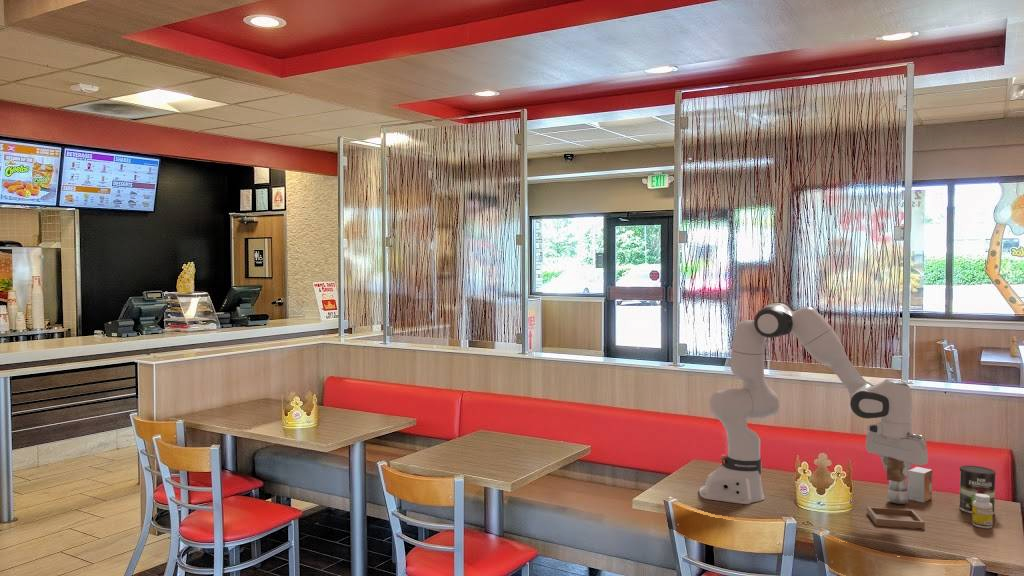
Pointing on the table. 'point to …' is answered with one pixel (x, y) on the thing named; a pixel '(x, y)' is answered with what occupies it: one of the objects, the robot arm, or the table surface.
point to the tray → (895, 517)
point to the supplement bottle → (982, 511)
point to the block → (895, 470)
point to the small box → (920, 484)
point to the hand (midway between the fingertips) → (895, 472)
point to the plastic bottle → (898, 492)
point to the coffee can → (975, 486)
